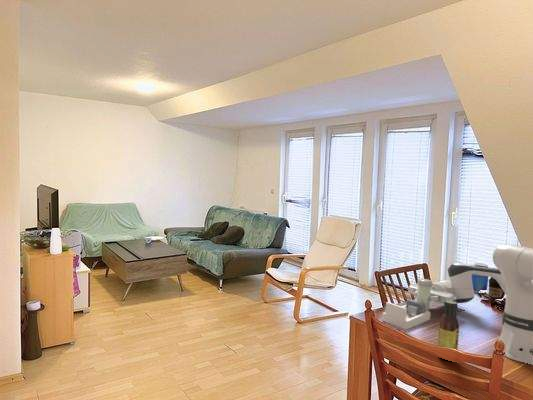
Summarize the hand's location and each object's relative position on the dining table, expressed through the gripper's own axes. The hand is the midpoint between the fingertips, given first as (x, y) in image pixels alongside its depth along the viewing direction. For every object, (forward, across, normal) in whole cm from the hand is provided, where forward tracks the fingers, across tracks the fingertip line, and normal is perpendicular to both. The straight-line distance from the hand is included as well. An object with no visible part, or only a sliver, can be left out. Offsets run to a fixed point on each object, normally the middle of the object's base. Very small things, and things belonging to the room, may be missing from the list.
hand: (422, 296), depth 178 cm
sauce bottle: (+34, -27, -8) cm, 44 cm away
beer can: (-64, -1, -8) cm, 64 cm away
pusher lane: (+13, 0, -8) cm, 15 cm away
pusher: (+7, 0, -7) cm, 10 cm away
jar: (-1, 0, -8) cm, 8 cm away
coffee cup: (-52, -14, -8) cm, 54 cm away
